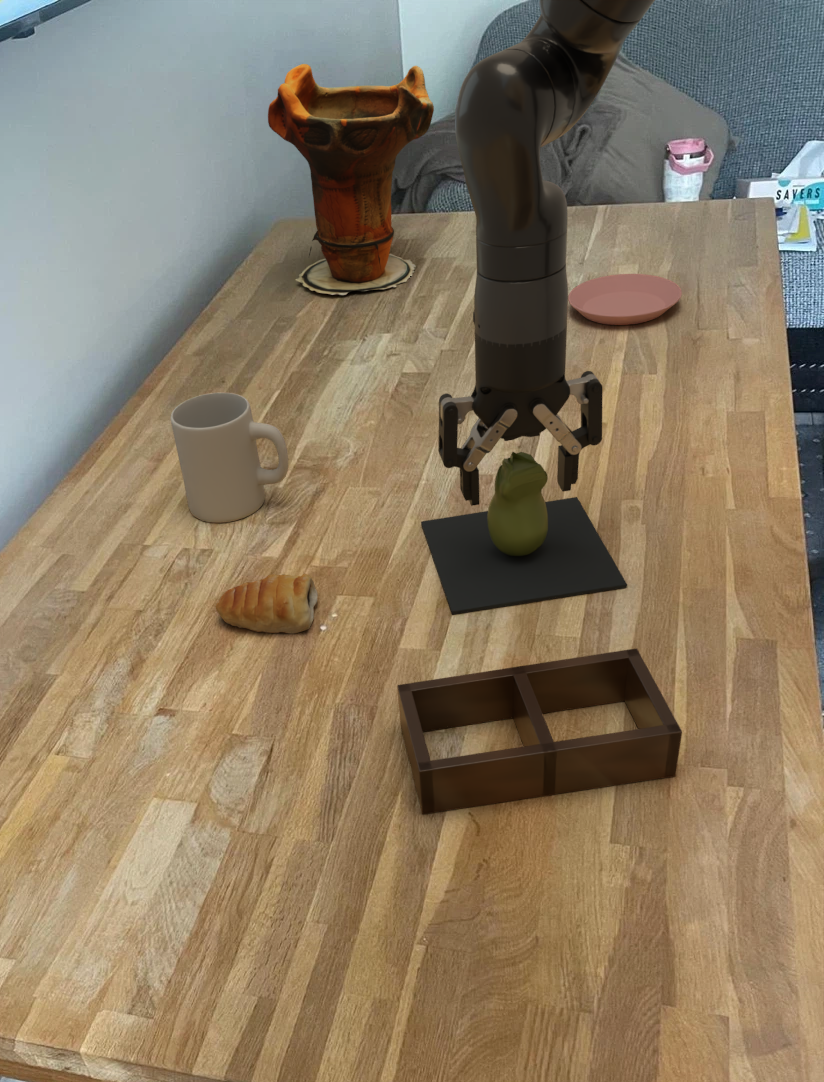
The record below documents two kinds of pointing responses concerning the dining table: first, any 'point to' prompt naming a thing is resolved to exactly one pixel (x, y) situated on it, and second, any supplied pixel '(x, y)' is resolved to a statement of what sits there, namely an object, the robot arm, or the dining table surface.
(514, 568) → the mat
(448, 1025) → the dining table surface
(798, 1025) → the dining table surface
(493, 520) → the green rounded tall piece
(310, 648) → the dining table surface
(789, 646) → the dining table surface
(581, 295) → the plate
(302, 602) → the pastry
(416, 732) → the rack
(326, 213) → the decorative vase
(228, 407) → the mug
